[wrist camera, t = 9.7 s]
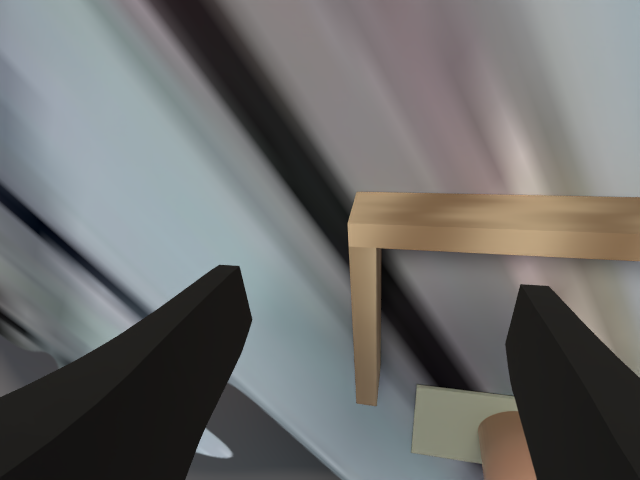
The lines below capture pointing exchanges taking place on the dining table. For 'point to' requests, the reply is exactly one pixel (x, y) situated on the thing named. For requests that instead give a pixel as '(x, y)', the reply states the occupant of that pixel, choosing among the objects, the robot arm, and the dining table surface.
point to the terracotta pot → (504, 448)
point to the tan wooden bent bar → (472, 244)
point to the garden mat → (453, 421)
